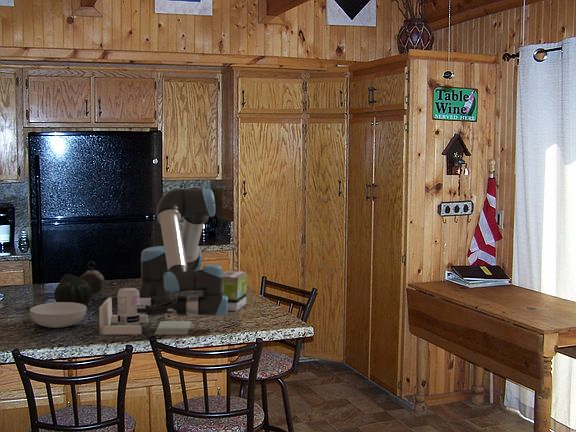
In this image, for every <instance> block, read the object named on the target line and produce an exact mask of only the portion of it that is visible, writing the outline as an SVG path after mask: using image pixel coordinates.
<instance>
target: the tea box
mask: <svg viewBox="0 0 576 432" xmlns="http://www.w3.org/2000/svg"><path fill="white" fill-rule="evenodd" d="M222 273H223V286H222V293H223V295H224V296H227V297H228V312H233V311H234V312H237V311H238V310H239V309H241V308H242V307H243V306H245V305H246V304H247V287H248V284H247V281H248V279H247V278H248V276H247V275H248V273H247V271H236V270H225V271H224V272H223V271H222Z"/></svg>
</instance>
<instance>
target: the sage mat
mask: <svg viewBox="0 0 576 432" xmlns="http://www.w3.org/2000/svg"><path fill="white" fill-rule="evenodd" d="M191 324H192V320H177V321H176V320H161V321H160V322H159V324H158V326H157V328H156V330H155V332H154V335H188V333H189V330H190V327H191Z"/></svg>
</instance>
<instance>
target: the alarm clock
mask: <svg viewBox="0 0 576 432" xmlns="http://www.w3.org/2000/svg"><path fill="white" fill-rule="evenodd" d="M90 263H91V261H89V262H88V263H87V267H88V268H89V270H87V271H85V272H84V273H83V274H81V276H80V277H79V278H81V279H83V280H84V281H86V282H87V284H88V285H89V287H90V289H91V296H94V295H97V294H98V295H100V297H102V296H103V295H102V293H101V291H102V290H103V289H104V288H105V283H106V282H105V281H106V280H105V277H104V275H103V274H102V273H101V271H98V270H96V269H95V270H94V268H95V266H96V263H95V262H94V261H92V263H93V265H94V267H90V266H89V264H90Z"/></svg>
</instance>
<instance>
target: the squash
mask: <svg viewBox="0 0 576 432" xmlns="http://www.w3.org/2000/svg"><path fill="white" fill-rule="evenodd" d="M53 296H54V300H55V303H56V302H72V303H79V304H83V305H85V306H86V305H88V304H89V303H90V301H91V300H92V295H91V289H90V287H89V285H88V284H87V282H86V281H84V280H83V279H81V278H80V277H78V276H76V275H73V274H68V273H65V274H64V275H63V276H62V278H61V280H60V281H59V283H58V284H57V286H56V288H55V290H54V295H53Z"/></svg>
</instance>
